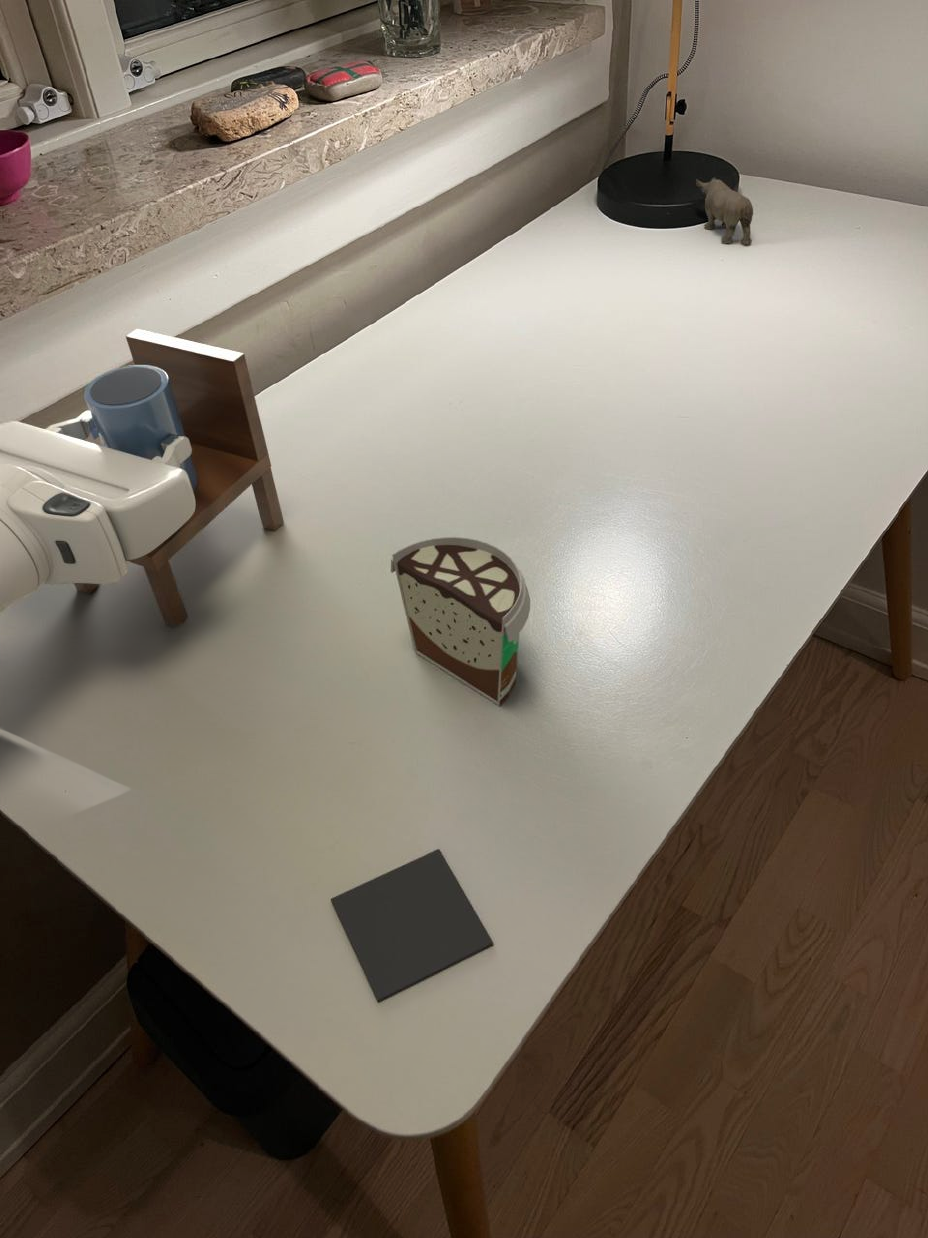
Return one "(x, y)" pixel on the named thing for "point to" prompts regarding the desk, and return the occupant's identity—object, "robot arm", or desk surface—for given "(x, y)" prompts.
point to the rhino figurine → (727, 209)
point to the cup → (136, 412)
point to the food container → (464, 610)
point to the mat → (410, 924)
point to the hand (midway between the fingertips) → (140, 430)
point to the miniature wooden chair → (206, 447)
